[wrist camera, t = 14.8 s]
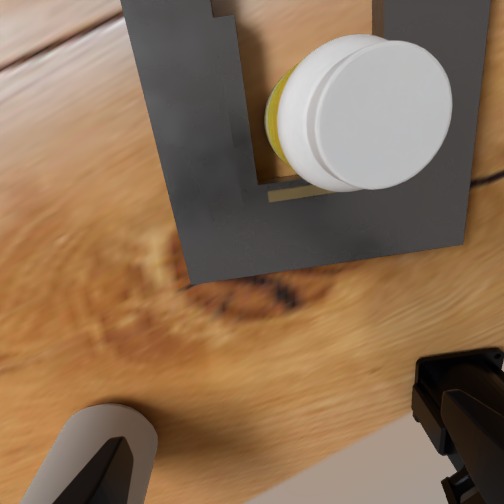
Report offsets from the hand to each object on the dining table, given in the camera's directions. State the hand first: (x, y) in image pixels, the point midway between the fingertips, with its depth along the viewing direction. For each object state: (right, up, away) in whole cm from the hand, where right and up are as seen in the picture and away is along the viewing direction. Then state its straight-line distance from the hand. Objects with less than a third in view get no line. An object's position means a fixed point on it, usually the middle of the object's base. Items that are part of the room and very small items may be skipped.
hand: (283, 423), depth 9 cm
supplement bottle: (+2, +12, +9) cm, 16 cm away
